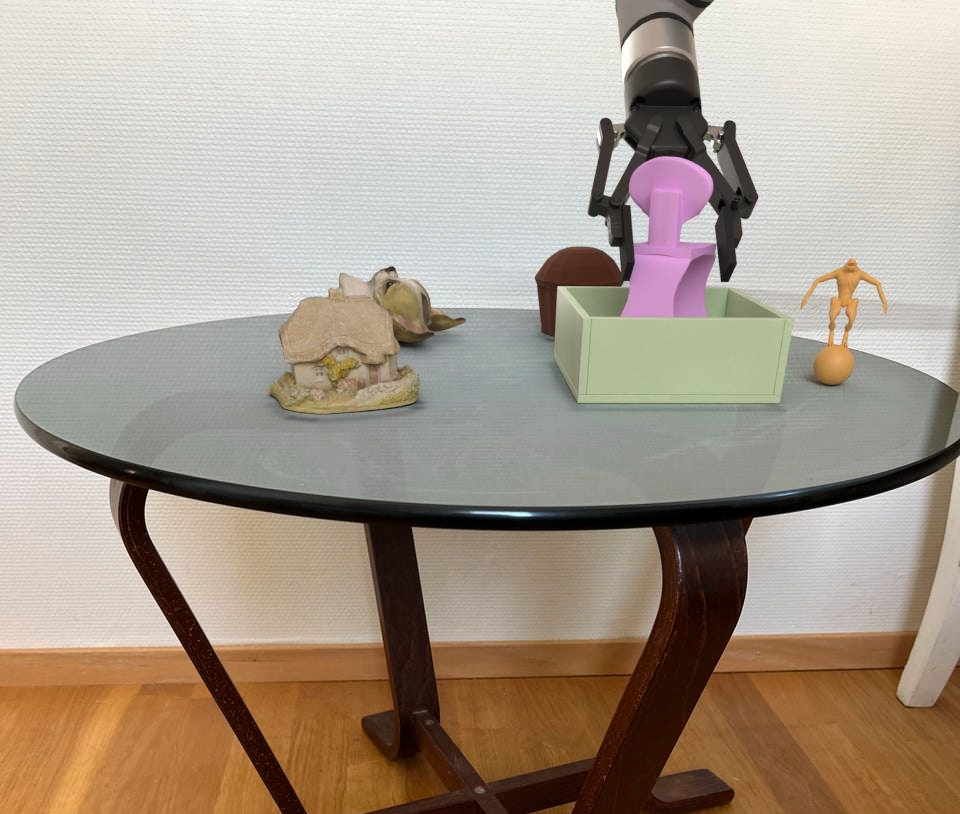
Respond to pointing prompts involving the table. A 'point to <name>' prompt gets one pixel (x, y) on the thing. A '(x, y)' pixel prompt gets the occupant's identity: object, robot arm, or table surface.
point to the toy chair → (669, 240)
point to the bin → (670, 349)
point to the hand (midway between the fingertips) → (678, 272)
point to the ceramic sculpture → (401, 304)
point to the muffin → (572, 277)
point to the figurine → (838, 359)
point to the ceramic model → (342, 358)
